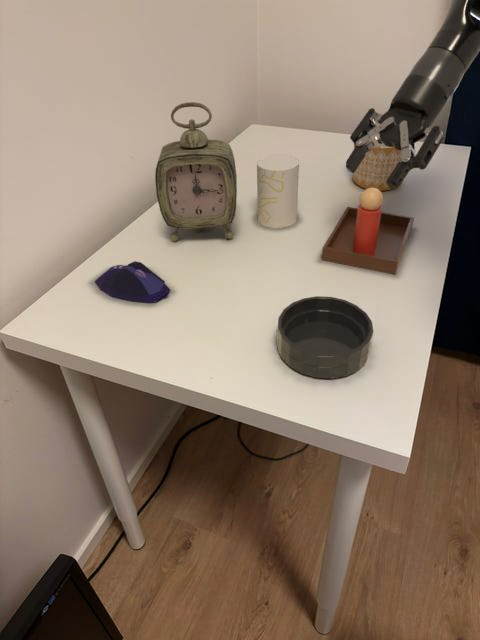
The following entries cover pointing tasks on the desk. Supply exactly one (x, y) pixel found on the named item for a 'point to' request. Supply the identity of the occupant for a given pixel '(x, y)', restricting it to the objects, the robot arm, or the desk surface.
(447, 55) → the robot arm
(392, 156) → the planter
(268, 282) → the desk surface
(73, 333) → the desk surface
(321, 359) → the pan
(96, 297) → the desk surface
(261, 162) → the white cylinder
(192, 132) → the tabletop clock
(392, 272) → the tray
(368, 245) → the doll
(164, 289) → the computer mouse
